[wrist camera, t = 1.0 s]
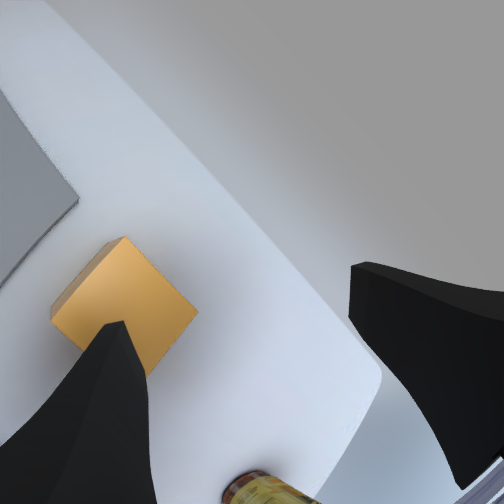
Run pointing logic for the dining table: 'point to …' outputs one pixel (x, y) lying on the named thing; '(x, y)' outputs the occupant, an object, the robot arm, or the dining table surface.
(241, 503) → the sauce bottle
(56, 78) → the dining table surface
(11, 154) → the post board
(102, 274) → the orange cube
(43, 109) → the dining table surface
